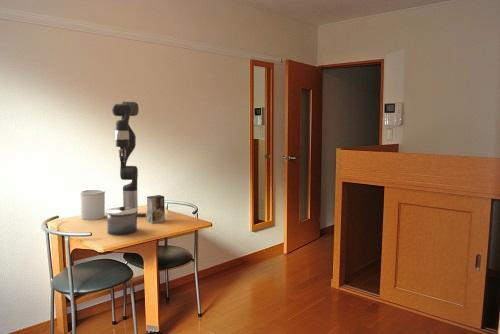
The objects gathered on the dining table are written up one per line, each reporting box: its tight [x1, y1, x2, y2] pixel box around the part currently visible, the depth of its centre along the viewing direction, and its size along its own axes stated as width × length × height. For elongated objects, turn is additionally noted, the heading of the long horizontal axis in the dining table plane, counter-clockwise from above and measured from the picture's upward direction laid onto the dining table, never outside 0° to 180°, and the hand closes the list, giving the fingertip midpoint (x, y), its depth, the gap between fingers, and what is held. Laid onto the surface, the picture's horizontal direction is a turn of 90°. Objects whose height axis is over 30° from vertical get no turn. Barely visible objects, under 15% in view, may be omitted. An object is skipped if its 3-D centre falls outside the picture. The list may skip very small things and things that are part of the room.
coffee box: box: [146, 194, 166, 224], centre depth 246 cm, size 9×6×16 cm
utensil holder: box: [79, 188, 106, 221], centre depth 253 cm, size 15×15×18 cm
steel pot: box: [106, 212, 147, 236], centre depth 223 cm, size 16×21×11 cm
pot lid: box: [105, 206, 139, 215], centre depth 221 cm, size 18×17×3 cm
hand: (122, 168), depth 230 cm, fingers closed
